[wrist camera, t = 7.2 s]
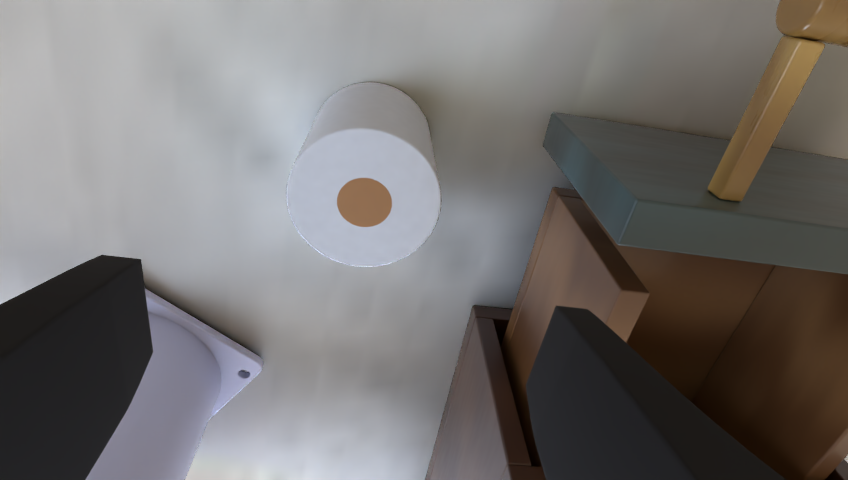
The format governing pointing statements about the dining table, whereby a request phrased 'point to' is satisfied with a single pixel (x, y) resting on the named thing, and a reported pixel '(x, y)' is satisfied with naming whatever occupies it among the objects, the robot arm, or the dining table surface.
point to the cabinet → (490, 412)
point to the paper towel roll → (366, 178)
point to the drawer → (709, 261)
